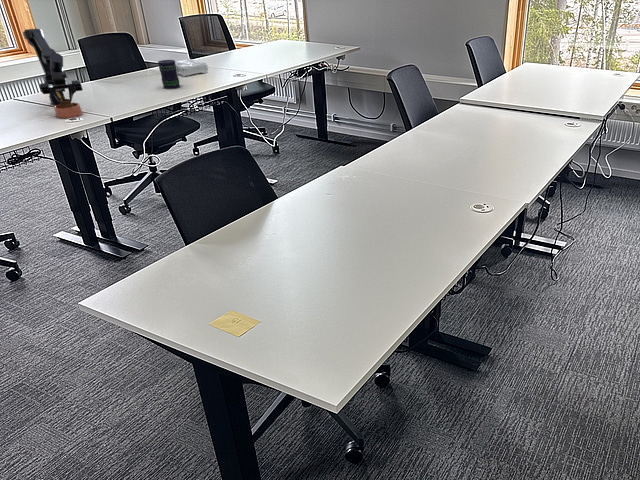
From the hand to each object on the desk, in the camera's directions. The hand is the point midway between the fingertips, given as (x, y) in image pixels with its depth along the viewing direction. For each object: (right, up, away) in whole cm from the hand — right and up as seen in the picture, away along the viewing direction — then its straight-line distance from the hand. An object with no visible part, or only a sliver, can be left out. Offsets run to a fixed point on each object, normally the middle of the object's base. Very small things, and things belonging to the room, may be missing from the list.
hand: (65, 101), depth 290 cm
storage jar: (+32, +29, +58) cm, 72 cm away
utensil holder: (-1, -5, +5) cm, 7 cm away
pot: (-1, -5, +5) cm, 7 cm away
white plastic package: (+26, +54, +95) cm, 113 cm away
